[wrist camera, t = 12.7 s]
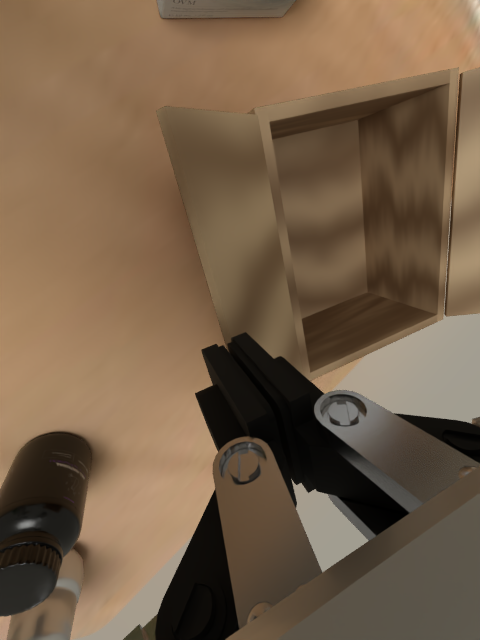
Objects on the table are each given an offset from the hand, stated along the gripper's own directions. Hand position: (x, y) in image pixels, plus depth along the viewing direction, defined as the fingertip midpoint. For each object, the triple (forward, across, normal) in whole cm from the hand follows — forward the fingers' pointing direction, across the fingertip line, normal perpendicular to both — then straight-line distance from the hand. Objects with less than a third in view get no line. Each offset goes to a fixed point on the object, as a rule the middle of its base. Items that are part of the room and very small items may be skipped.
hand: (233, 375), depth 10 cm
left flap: (+7, -4, +1) cm, 8 cm away
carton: (+20, -16, +1) cm, 25 cm away
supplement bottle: (+20, +16, +15) cm, 30 cm away
